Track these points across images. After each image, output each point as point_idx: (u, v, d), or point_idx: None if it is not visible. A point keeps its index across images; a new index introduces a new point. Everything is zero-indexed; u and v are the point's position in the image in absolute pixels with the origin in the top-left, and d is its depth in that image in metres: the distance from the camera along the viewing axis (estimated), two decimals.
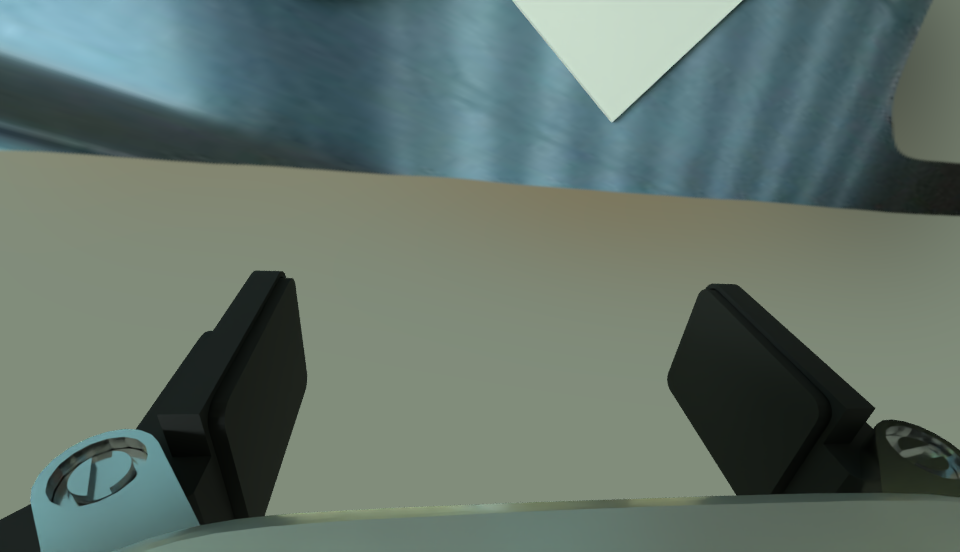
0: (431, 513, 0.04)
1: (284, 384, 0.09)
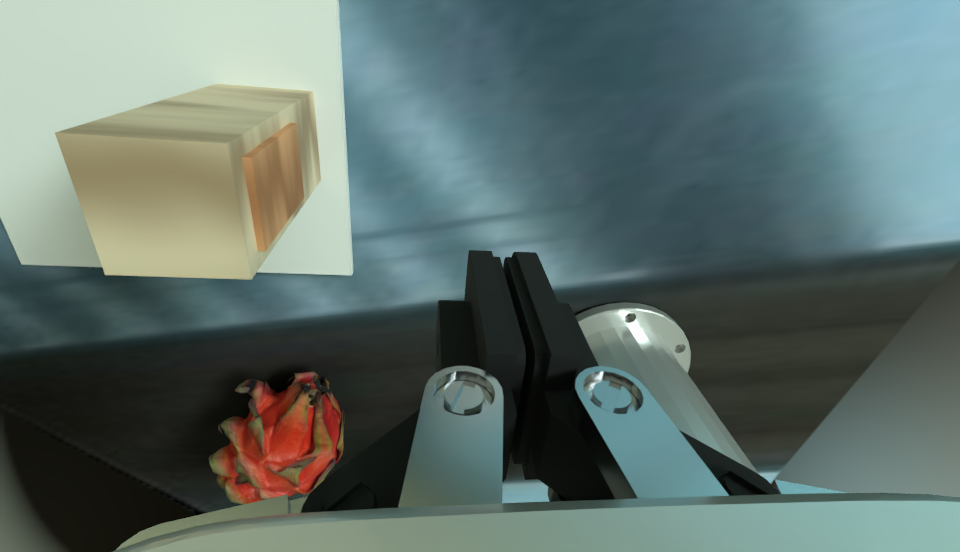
0: (431, 513, 0.04)
1: None
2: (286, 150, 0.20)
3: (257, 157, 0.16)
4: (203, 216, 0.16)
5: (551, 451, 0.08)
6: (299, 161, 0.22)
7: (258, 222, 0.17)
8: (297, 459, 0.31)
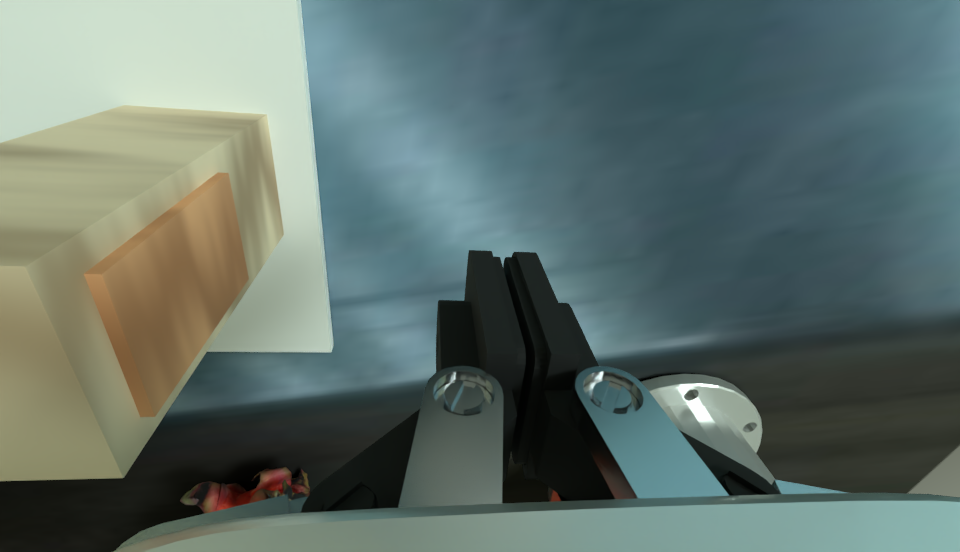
0: (431, 513, 0.04)
1: None
2: (205, 224, 0.12)
3: (122, 266, 0.09)
4: (8, 390, 0.08)
5: (551, 451, 0.08)
6: (236, 229, 0.14)
7: (135, 374, 0.10)
8: None
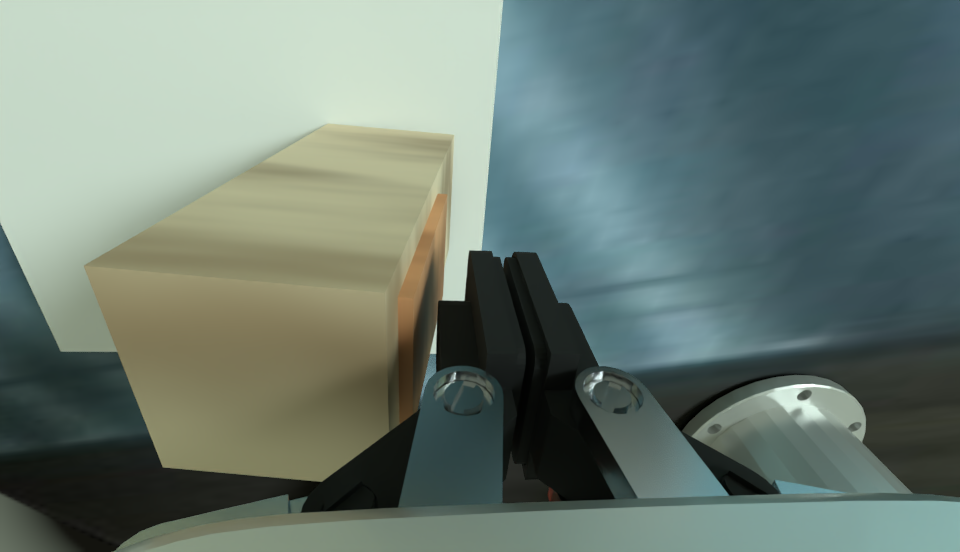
0: (431, 513, 0.04)
1: None
2: (438, 245, 0.13)
3: (418, 289, 0.09)
4: (325, 400, 0.09)
5: (551, 451, 0.08)
6: (444, 248, 0.15)
7: (407, 390, 0.10)
8: None
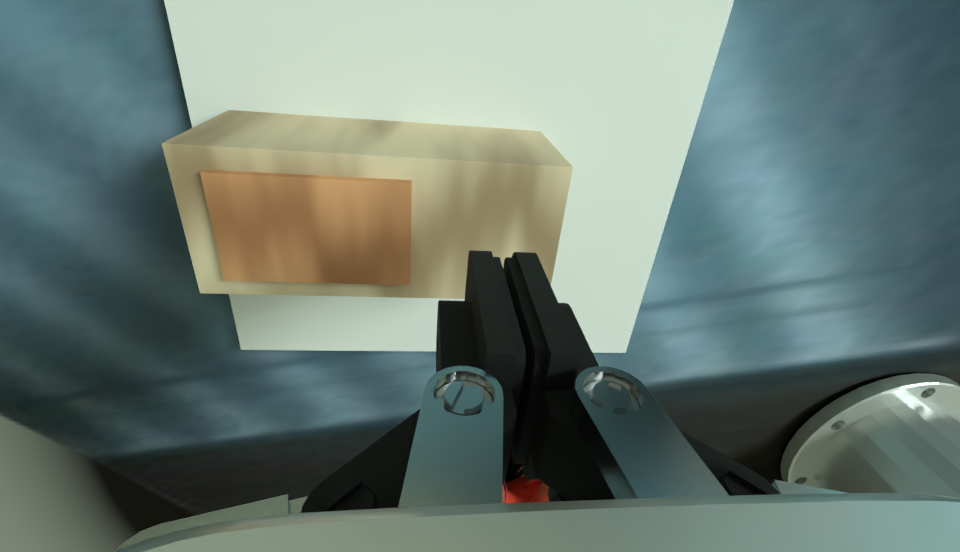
0: (431, 513, 0.04)
1: None
2: (345, 204, 0.14)
3: (221, 178, 0.13)
4: None
5: (551, 451, 0.08)
6: (405, 235, 0.15)
7: None
8: None
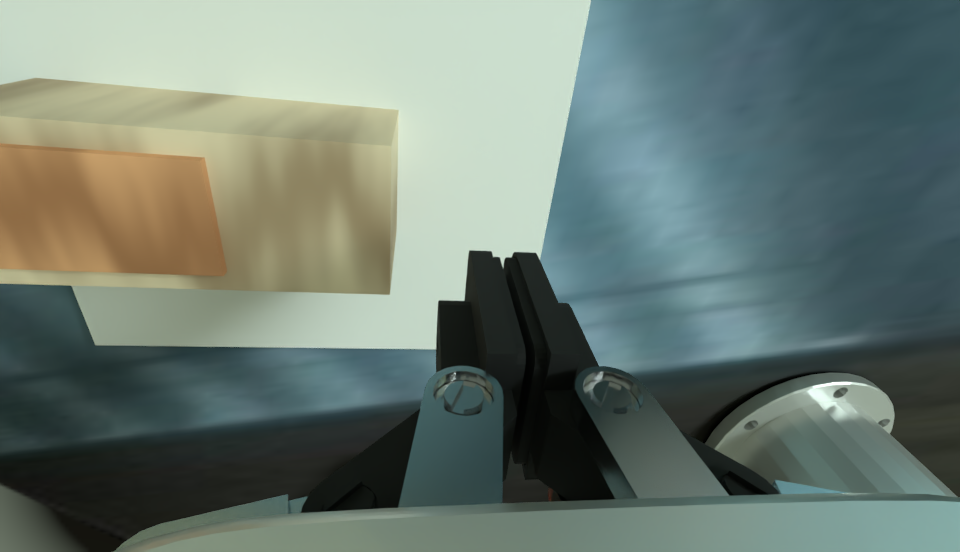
0: (431, 513, 0.04)
1: None
2: (125, 183, 0.12)
3: None
4: None
5: (551, 451, 0.08)
6: (205, 219, 0.13)
7: None
8: None
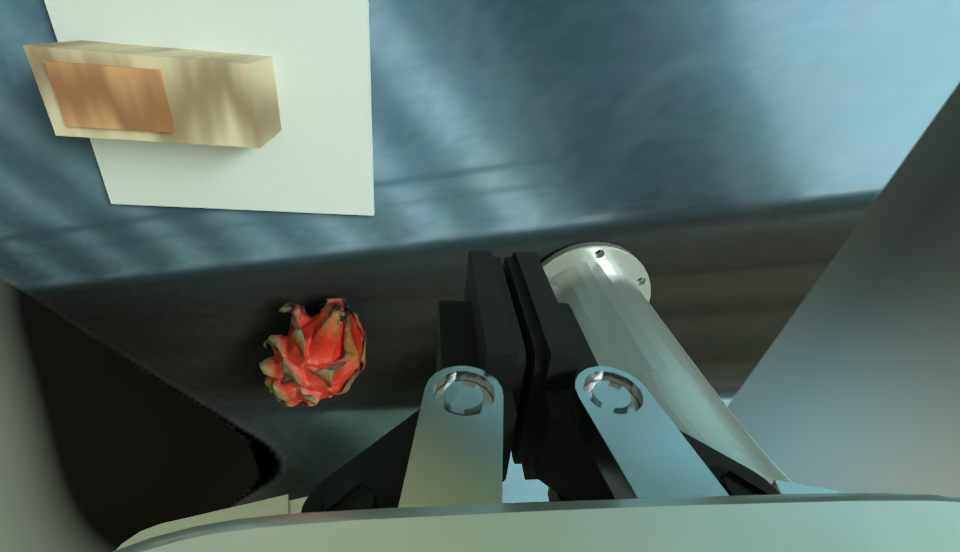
0: (431, 513, 0.04)
1: None
2: (124, 81, 0.27)
3: (55, 64, 0.26)
4: None
5: (551, 451, 0.08)
6: (161, 101, 0.28)
7: (62, 105, 0.27)
8: (330, 363, 0.38)
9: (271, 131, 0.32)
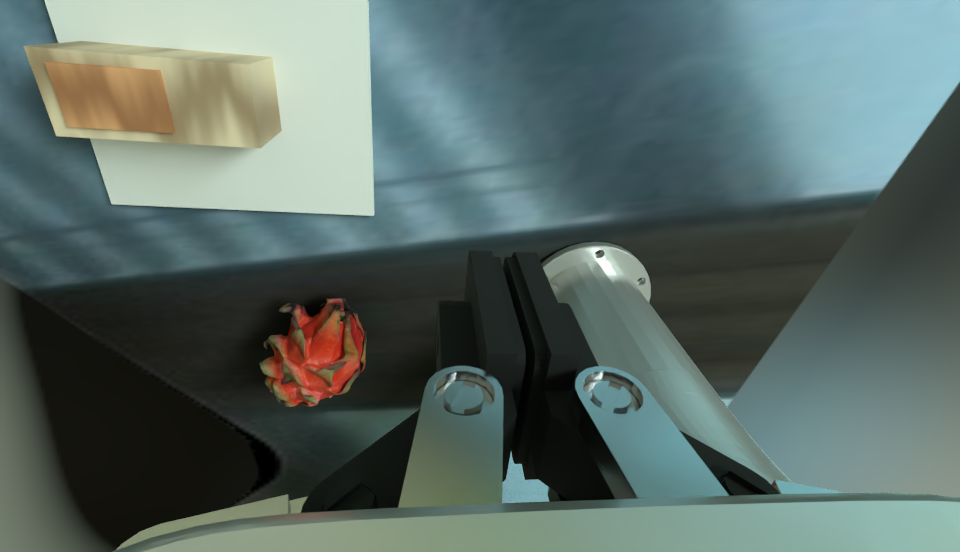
0: (431, 513, 0.04)
1: None
2: (124, 82, 0.27)
3: (55, 65, 0.26)
4: None
5: (551, 451, 0.08)
6: (162, 101, 0.28)
7: (62, 106, 0.27)
8: (330, 363, 0.38)
9: (271, 131, 0.32)
